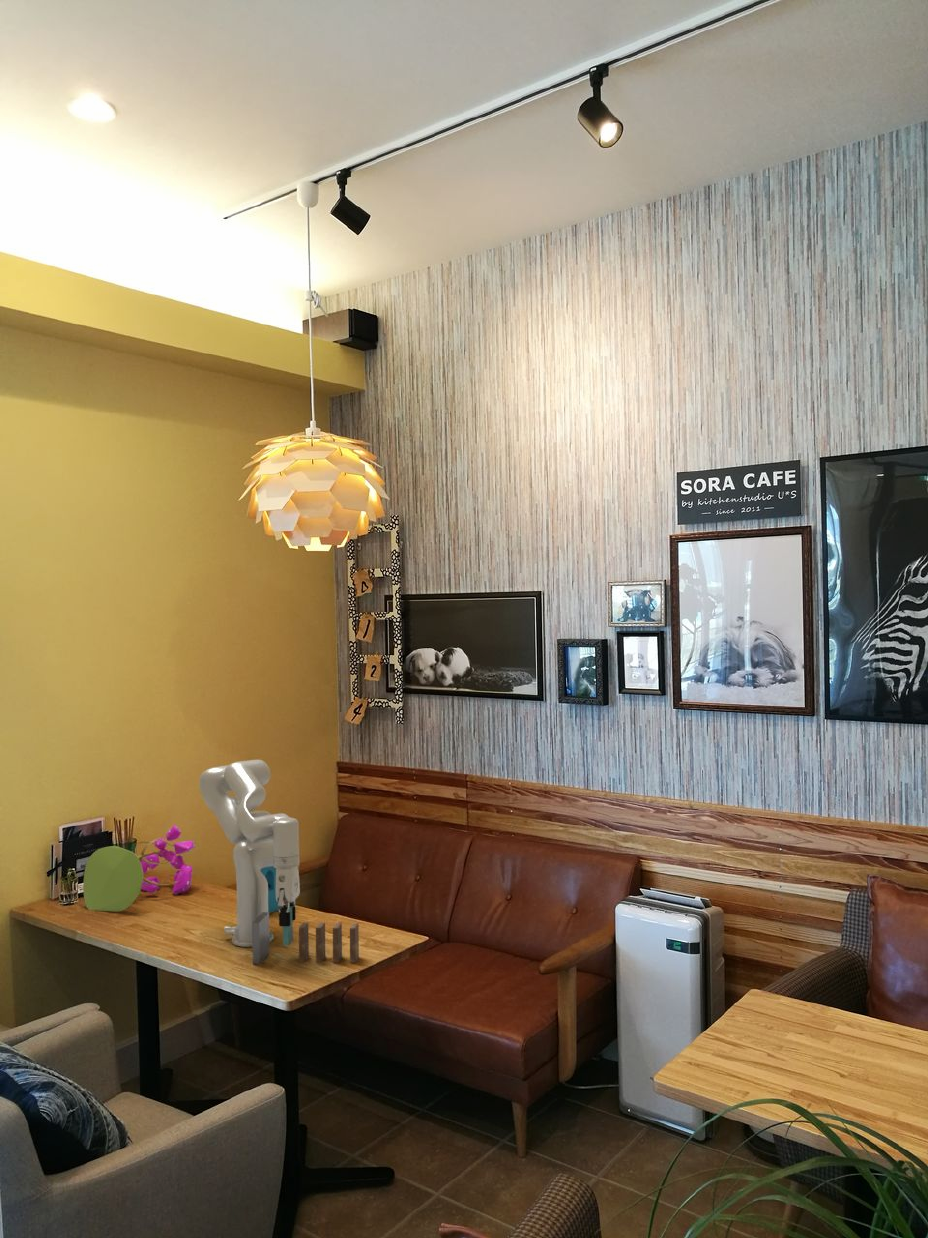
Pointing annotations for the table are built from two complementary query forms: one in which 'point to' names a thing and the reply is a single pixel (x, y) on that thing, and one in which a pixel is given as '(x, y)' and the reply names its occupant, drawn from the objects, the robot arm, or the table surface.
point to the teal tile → (288, 931)
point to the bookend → (260, 937)
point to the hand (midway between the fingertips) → (287, 922)
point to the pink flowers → (132, 873)
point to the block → (271, 887)
